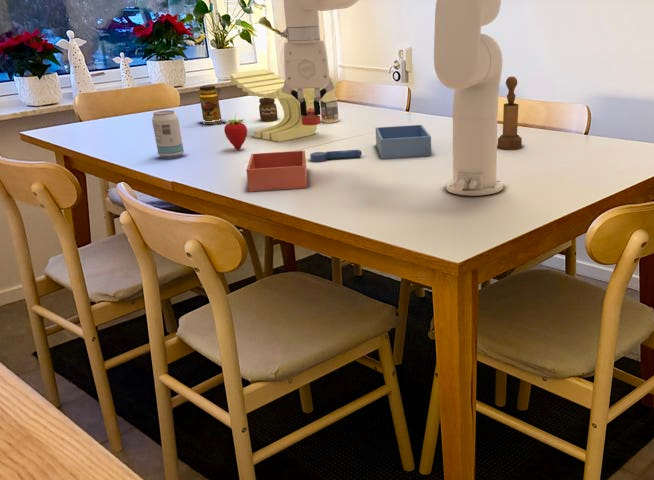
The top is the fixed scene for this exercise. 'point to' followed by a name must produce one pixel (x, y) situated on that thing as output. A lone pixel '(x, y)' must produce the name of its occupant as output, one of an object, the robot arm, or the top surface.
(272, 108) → the dark brown jar
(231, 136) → the strawberry
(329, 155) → the spoon blue
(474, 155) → the robot arm
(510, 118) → the brown tall knobbed column
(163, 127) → the beverage can
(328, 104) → the pill bottle
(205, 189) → the top surface
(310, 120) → the spoon terracotta
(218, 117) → the condiment
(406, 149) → the bin blue
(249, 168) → the bin terracotta
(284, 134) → the slatted curved stool
